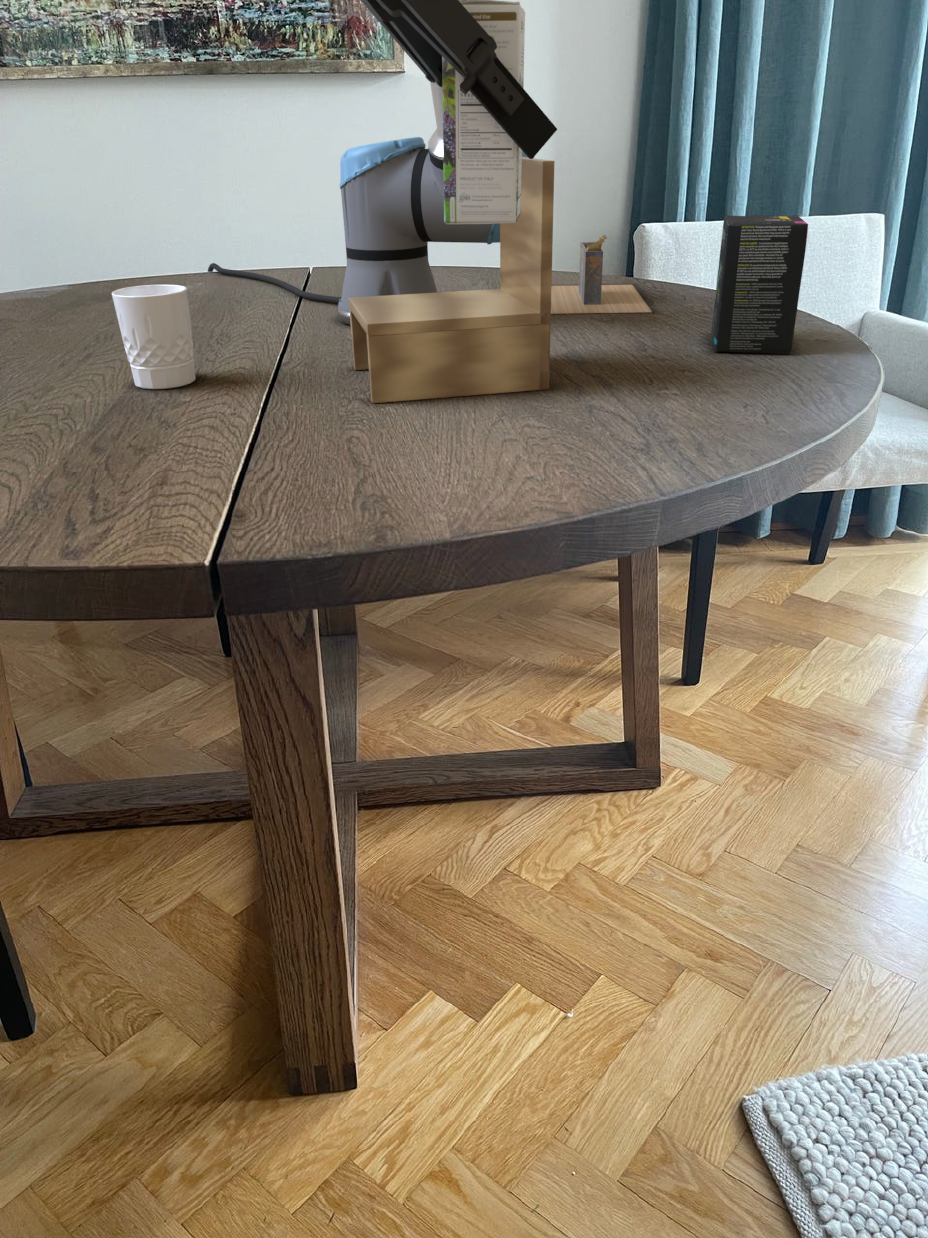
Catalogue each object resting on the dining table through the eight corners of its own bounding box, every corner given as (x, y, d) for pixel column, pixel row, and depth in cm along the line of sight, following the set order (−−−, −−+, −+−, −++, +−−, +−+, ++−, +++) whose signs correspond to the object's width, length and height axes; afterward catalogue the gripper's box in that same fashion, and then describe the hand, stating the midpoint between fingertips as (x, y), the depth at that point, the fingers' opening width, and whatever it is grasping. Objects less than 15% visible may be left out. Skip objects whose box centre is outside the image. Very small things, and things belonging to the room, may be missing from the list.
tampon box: (792, 355, 111) (812, 222, 104) (713, 353, 113) (726, 222, 106) (783, 336, 120) (801, 213, 113) (710, 334, 122) (723, 213, 115)
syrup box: (451, 217, 77) (446, 7, 70) (523, 216, 76) (525, 5, 69) (443, 225, 72) (437, 0, 65) (520, 224, 71) (522, -3, 64)
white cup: (214, 376, 108) (201, 285, 103) (174, 393, 101) (158, 297, 96) (156, 371, 110) (141, 283, 105) (114, 388, 103) (95, 294, 99)
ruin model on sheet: (652, 312, 136) (657, 241, 132) (540, 313, 137) (541, 243, 133) (632, 284, 158) (636, 222, 154) (536, 286, 159) (537, 224, 155)
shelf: (372, 403, 96) (356, 167, 85) (353, 368, 110) (338, 160, 99) (549, 389, 100) (554, 160, 89) (509, 356, 113) (510, 155, 103)
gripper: (253, -56, 70) (466, 174, 81) (264, -110, 53) (532, 190, 64) (316, -143, 69) (525, 103, 80) (349, -227, 52) (609, 100, 63)
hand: (528, 142), depth 72 cm, fingers closed on syrup box, 7 cm apart
